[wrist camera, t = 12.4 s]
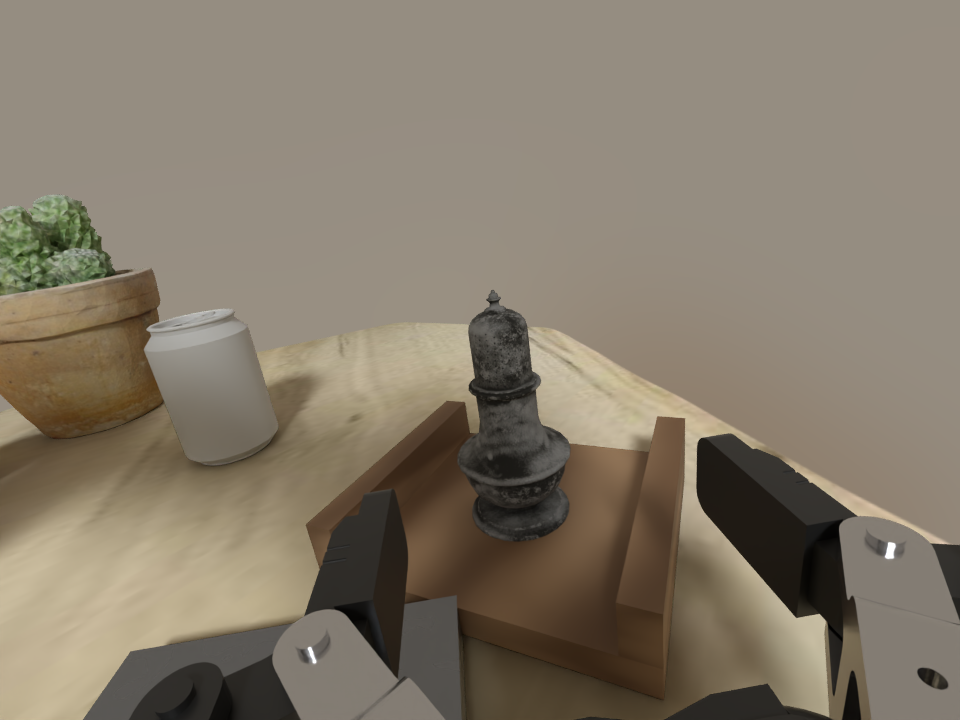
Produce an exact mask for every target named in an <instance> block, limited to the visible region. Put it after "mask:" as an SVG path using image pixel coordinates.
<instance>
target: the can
mask: <svg viewBox="0 0 960 720" xmlns="http://www.w3.org/2000/svg"><path fill="white" fill-rule="evenodd" d="M234 313H235V311H234V310H233V309H216V310H209V311H203V312H197V313H193V314H187V315H183V316H179V317H175V318H171V319H168V320H164V321H161V322H158V323H155V324H153V325H151V326H149V327H148V328H147V329H146V330H147V331H148V332H150V334H151V337H150V339H149V341H148V343H147V345H146V346H145V348H144V352H145V354H146V357H147V359H148V362H149V364H150V367H151V369H152V372H153V375H154V377H155V380H156V382H157V385H158V387H159V390H160V392H161V395H162V397H163V400H164V402H165V405H166V408H167V410H168V413H169V415H170V418H171V420H172V423H173V425H174V428H175V430H176V433H177V435H178V438H179V441H180V443H181V446H182V448H183V451H184V453H185V456H186V457H187V458H188V459H189V460H192V461H197V462H201V463H202V464H204V465H209V466H212V465H223V464H228V463H232V462H235V461H238V460H241V459H244V458H246V457H249V456H251V455H253V454H255V453H257V452H258V451H260V450H262V449H263V448H264V447H266V446H267V445H268V444H269V443H270V441H271V440H272V437H273V436H274V434H275V433H276V431H277V430H278V428H279V426H278V422H277V419H276V415H275V412H274V409H273V406H272V403H271V399H270V396H269V393H268V390H267V386H266V383H265V380H264V377H263V374H262V370H261V367H260V364H259V361H258V358H257V354H256V351H255V348H254V345H253V341H252V338H251V335H250V332H249V329H248V325H247V324H245V323H244V322H242V321H240V320H239V319H237V318H235V317H234Z"/></svg>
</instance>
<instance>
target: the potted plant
mask: <svg viewBox="0 0 960 720" xmlns="http://www.w3.org/2000/svg"><path fill="white" fill-rule="evenodd" d="M81 204H82V202H81V201H76V200H73V199H71V198H69V197H68V196H63V195H46V196H44V197H42V198H39V199H37V200H36V201H35V202H33V207H34V209H29V211H30V212H31V214H32V216H31V215H30V214H28V213H27V212H26V210H25V209H24V208H22V207H21V206H10V207H5V208H3V209H2V210H1V211H0V394H1V395H2V396H3V397H4V398H5V399H6V400H7V401H8V402H9V403H10V404H11V405H12V406H13V407H14V408H15V409H16V410H17V411H18V412H20V413H21V414H22V415H23V416H24V417H25V418H26V419H27V420H29V421H30V422H31V423H32V424H34V425H35V426H36V427H37V428H38V429H39V430H40V431H41V432H42V433H43V434H45V435H47V436H49V437H51V438H54V439H61V438H73V437H78V436H83V435H88V434H92V433H96V432H100V431H104V430H107V429H110V428H113V427H116V426H119V425H122V424H124V423H127V422H129V421H131V420H133V419H136V418H138V417H140V416H142V415H144V414H146V413H148V412H149V411H151V410H153V409H154V408H156V407H158V406H159V405H160V404H161V403H162V402H163V401H164V400H163V397H162V395H161V392H160V390H159V387H158V385H157V382H156V380H155V377H154V375H153V372H152V369H151V367H150V364H149V362H148V359H147V357H146V354H145V352H144V348H145V346H146V345H147V343H148V341H149V339H150V337H151V334H150V332H148V331H147V330H146V329H147V328H148V327H149V326H151V325H153V324H155V323H158V322H159V316H158V311H157V307H158V306H159V304H160V297H159V292H158V288H157V283H156V280H155V276H154V273H153V270H152V269H151V268H142V269H131V270H120V271H115V270H114V269H113V268H112V264H111V260H110V258H111V257H110V256H109V255H108V254H107V253H106V252H104V251H102V249H101V237H100V236H98V235H97V232H95V229H94V228H92V227H91V226H90V222H91V219H90V218H89V217H88V213H87V209H86V207H85V206H81Z"/></svg>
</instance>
